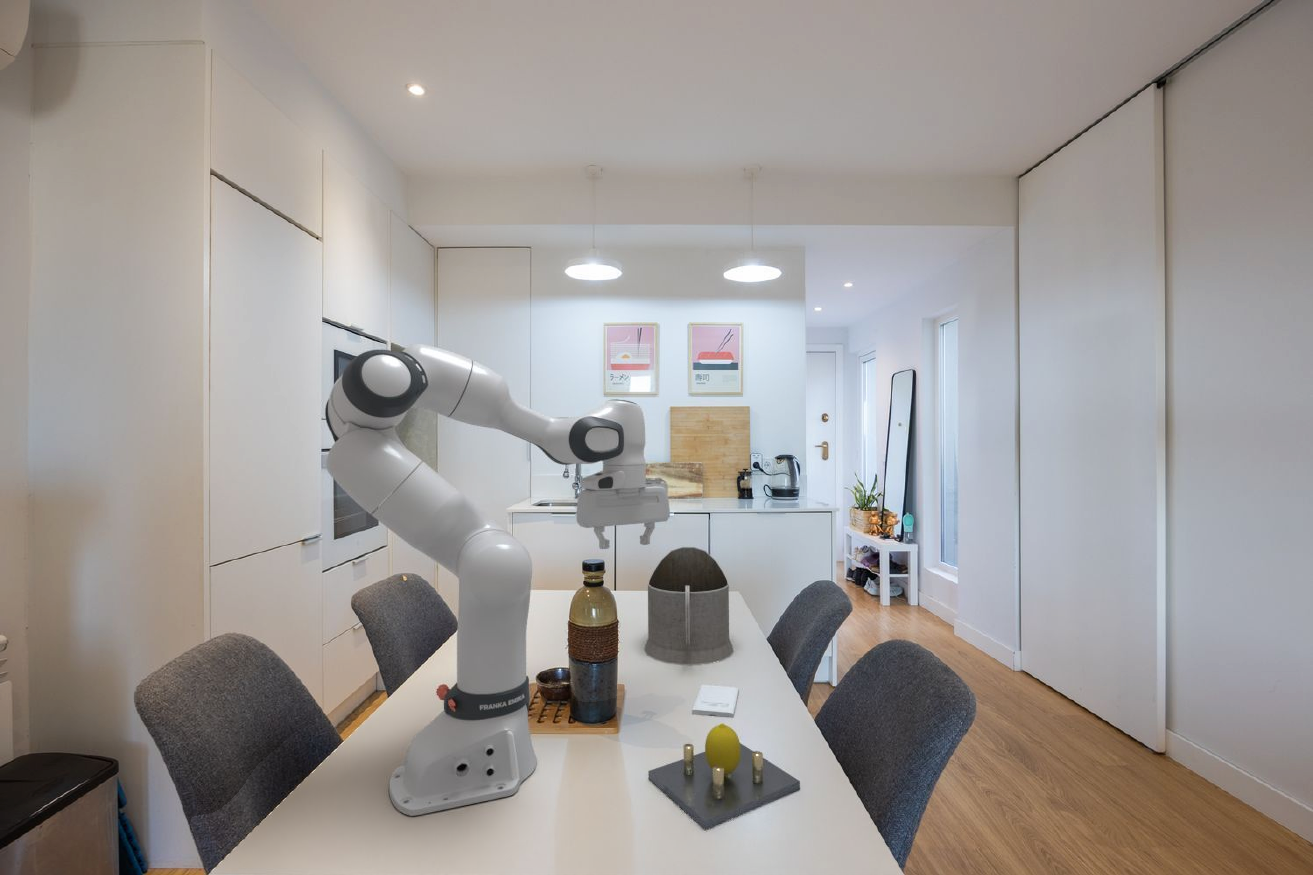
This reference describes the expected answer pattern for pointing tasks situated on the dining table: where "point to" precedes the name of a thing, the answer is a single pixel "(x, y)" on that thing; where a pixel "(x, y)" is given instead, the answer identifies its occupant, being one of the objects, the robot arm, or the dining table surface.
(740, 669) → the dining table surface
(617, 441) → the robot arm
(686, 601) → the pitcher
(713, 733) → the lemon
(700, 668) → the dining table surface
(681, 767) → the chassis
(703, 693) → the external hard drive
